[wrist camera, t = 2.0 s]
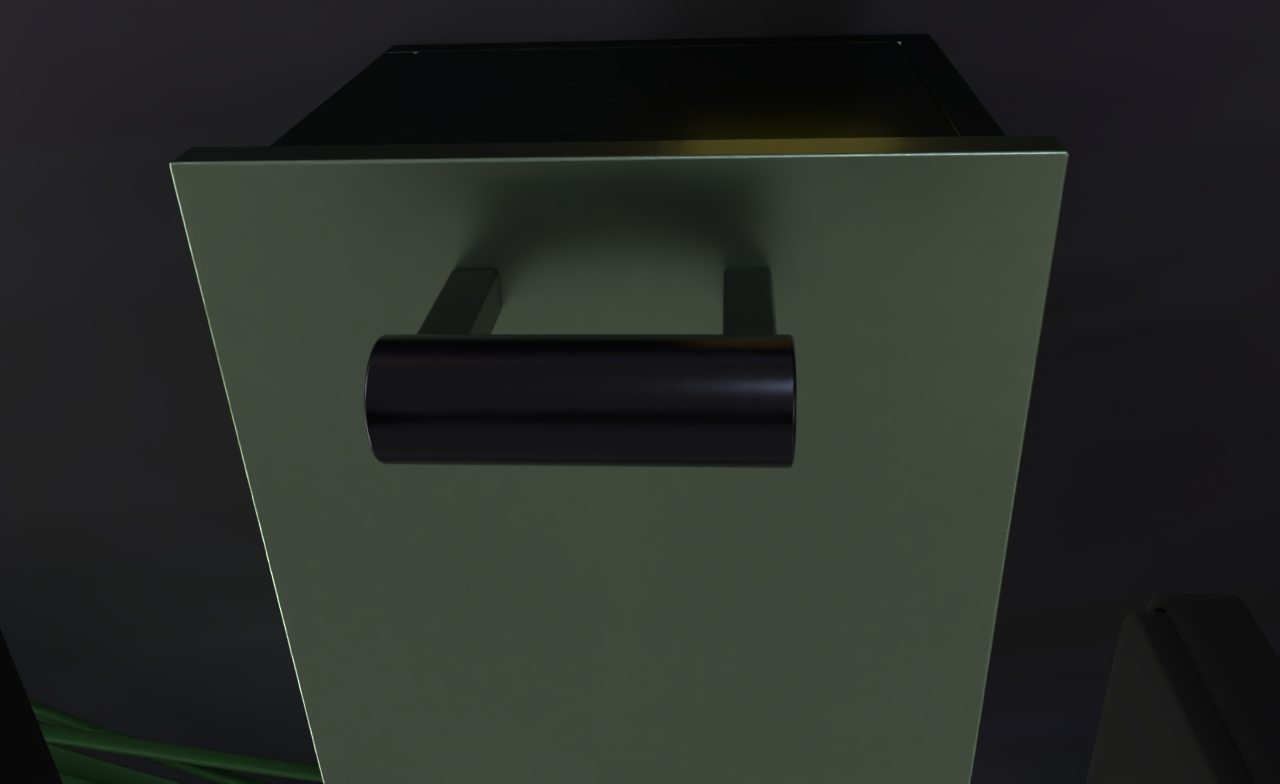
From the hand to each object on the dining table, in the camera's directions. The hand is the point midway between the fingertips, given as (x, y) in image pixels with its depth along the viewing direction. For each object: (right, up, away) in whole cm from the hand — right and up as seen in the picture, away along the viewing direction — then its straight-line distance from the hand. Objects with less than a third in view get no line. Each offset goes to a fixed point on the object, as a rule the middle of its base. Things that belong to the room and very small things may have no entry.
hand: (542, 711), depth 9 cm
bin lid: (+1, -1, +11) cm, 11 cm away
